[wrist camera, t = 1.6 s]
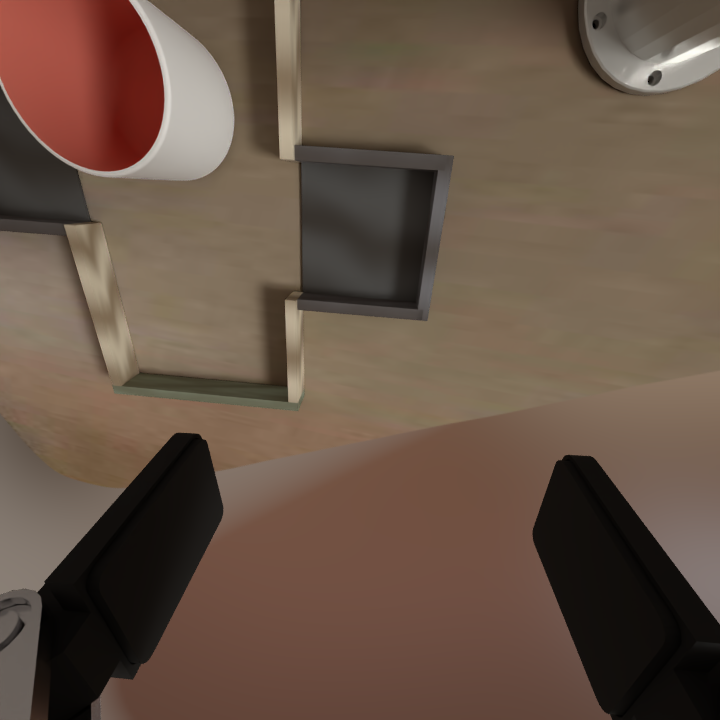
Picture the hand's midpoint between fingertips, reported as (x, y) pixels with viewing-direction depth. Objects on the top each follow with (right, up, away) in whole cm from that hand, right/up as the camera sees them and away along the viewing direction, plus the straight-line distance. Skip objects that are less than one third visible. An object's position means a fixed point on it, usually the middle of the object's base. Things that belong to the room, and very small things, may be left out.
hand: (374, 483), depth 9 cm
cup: (-15, +24, +18) cm, 34 cm away
